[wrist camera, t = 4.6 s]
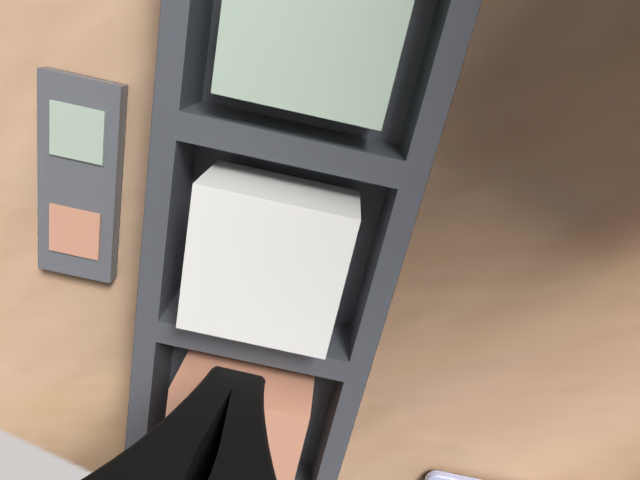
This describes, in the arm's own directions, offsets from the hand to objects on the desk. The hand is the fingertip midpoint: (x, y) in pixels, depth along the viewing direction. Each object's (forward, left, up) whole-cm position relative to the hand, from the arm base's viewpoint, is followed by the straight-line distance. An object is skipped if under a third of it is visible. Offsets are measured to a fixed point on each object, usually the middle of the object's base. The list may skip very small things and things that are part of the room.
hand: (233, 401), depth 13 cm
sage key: (0, -9, -7) cm, 12 cm away
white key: (0, -2, -7) cm, 7 cm away
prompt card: (+8, -2, -8) cm, 12 cm away
